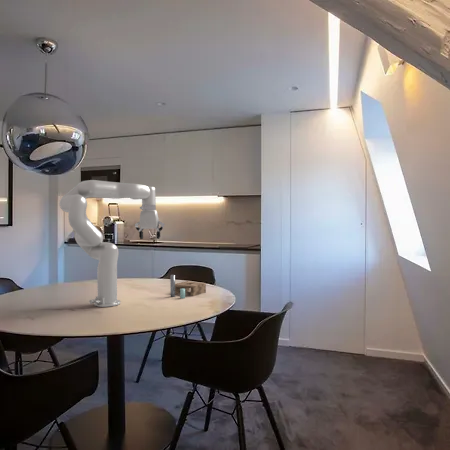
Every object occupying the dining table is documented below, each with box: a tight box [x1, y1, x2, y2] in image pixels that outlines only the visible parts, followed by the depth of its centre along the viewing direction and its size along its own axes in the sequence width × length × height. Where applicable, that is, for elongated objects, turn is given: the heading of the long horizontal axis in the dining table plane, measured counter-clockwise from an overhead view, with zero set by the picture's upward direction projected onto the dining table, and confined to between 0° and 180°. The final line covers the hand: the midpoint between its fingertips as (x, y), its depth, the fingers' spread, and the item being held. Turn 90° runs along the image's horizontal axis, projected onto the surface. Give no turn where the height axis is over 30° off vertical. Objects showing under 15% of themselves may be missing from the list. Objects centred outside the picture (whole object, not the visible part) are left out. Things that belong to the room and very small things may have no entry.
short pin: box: [179, 289, 186, 300], centre depth 197 cm, size 3×3×5 cm
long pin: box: [169, 274, 176, 298], centre depth 201 cm, size 3×3×12 cm
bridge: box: [175, 280, 207, 297], centre depth 211 cm, size 12×14×6 cm
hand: (149, 238), depth 203 cm, fingers open, 9 cm apart
